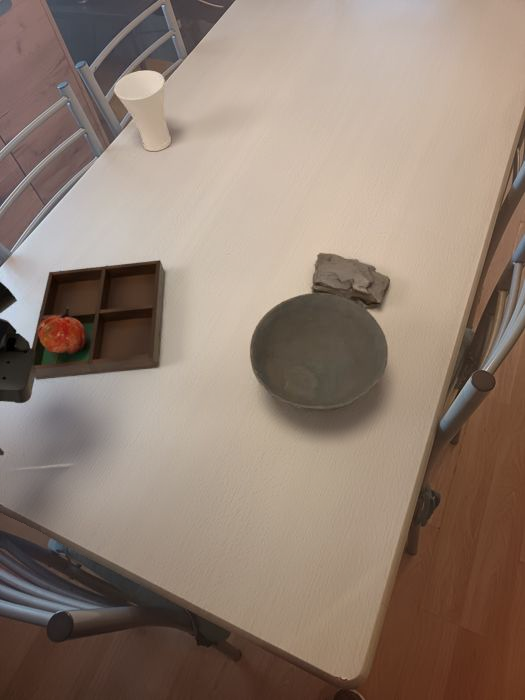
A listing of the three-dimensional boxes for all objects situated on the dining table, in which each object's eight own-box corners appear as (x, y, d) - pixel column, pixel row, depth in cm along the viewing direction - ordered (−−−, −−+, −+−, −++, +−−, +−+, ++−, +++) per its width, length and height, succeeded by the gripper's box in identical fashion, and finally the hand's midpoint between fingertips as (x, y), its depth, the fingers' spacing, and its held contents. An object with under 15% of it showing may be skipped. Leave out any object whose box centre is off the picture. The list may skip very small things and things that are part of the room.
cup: (166, 160, 109) (149, 102, 98) (126, 153, 112) (104, 95, 101) (187, 132, 114) (173, 73, 103) (148, 125, 117) (130, 67, 106)
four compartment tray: (36, 379, 82) (26, 369, 79) (57, 283, 93) (49, 272, 90) (158, 367, 81) (153, 357, 78) (164, 271, 92) (160, 260, 89)
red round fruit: (85, 374, 83) (103, 319, 81) (46, 375, 77) (65, 315, 75) (59, 356, 87) (76, 303, 85) (20, 355, 81) (37, 298, 79)
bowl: (233, 375, 79) (223, 341, 70) (323, 311, 84) (323, 272, 75) (310, 464, 70) (309, 436, 62) (405, 386, 75) (417, 351, 67)
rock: (393, 274, 86) (396, 258, 83) (378, 314, 82) (381, 300, 79) (319, 256, 90) (319, 241, 87) (301, 294, 86) (300, 279, 83)
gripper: (-18, 436, 46) (56, 486, 59) (23, 281, 56) (79, 353, 69) (-133, 446, 47) (-34, 494, 60) (-72, 291, 57) (1, 361, 70)
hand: (8, 420), depth 65 cm, fingers open, 9 cm apart
